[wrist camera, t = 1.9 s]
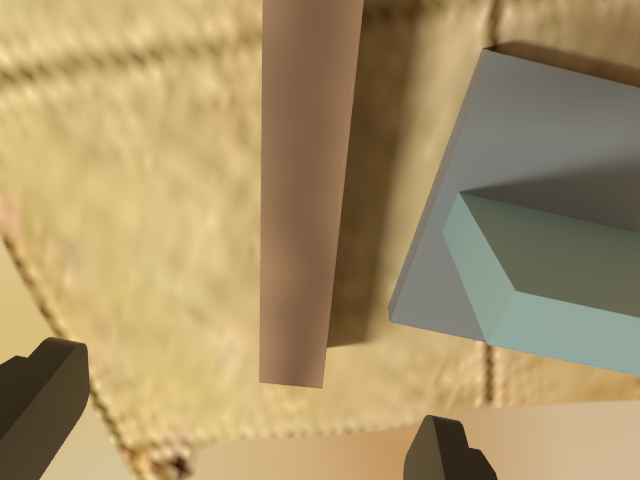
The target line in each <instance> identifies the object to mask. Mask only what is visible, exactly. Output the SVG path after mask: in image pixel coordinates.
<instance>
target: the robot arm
mask: <svg viewBox="0 0 640 480" xmlns="http://www.w3.org/2000/svg"><path fill="white" fill-rule="evenodd" d="M89 392H90V385H89V368H88V351H87V346H86V345H85V344H84V343H79V342H74V341H69V340H64V339H59V338H54V337H49V338H47V339H45V340H44V341H43V342H42V343H41V344H40V345H39V346H38V347H37V348H36V349H35V350H34V351H33V353H32V354H31V355H30V356H29V357H28V358H26V357H21V356H15V357H13V358H11V359H10V360H8V361H6V362H5V363H3V364H1V365H0V480H39V479H40V478H41V476H42V475H43V473H44V472H45V470H46V469H47V467H48V466H49V464H50V462H51V461H52V459H53V458H54V456H55V455H56V453H57V452H58V450H59V449H60V447H61V446H62V444H63V443H64V441H65V440H66V438H67V437H68V435H69V433H70V432H71V430H72V429H73V428H74V426H75V425H76V423H77V421H78V420H79V418H80V417H81V415H82V413H83V411H84V409H85V407H86V404H87V401H88V397H89ZM403 474H404V475H403V476H404V477H403V479H404V480H498V479H497V476H496V473H495V471H494V470H493V468H492V467H491V465H490V464H489V462H488V461H487V459H486V458H485V456H484V455H483V453H482V452H481V450H478V449H473V448H469V446H468V442H467V439H466V435H465V431H464V428H463V425H462V424H461V422H459V421H457V420H451V419H447V418H442V417H437V416H432V415H427V416H426V417H425V418H424V420H423V422H422V424H421V426H420V428H419V430H418V432H417V434H416V436H415V438H414V440H413V442H412V444H411V447H410V449H409V451H408V453H407V455H406V459H405V463H404V473H403Z"/></svg>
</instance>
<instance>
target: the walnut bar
mask: <svg viewBox="0 0 640 480" xmlns="http://www.w3.org/2000/svg"><path fill="white" fill-rule="evenodd" d="M363 3H364V0H263V33H262V146H261V260H260V373H259V382H260V383H270V384H281V385H291V386H301V387H311V388H321V389H322V387H323V378H324V369H325V359H326V350H327V340H328V331H329V322H330V312H331V303H332V294H333V284H334V275H335V266H336V256H337V247H338V237H339V228H340V219H341V209H342V200H343V191H344V181H345V172H346V163H347V153H348V144H349V135H350V125H351V116H352V106H353V97H354V88H355V78H356V69H357V60H358V50H359V41H360V32H361V22H362V13H363Z"/></svg>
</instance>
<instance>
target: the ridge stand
mask: <svg viewBox="0 0 640 480" xmlns="http://www.w3.org/2000/svg"><path fill="white" fill-rule="evenodd" d="M388 312H389V319H390V322H392V323H397V324H402V325H407V326H411V327H416V328H421V329H426V330H430V331H435V332H440V333H445V334H449V335H454V336H459V337H464V338H468V339H473V340H478V341H483V342H487V344H488V345H493V346H497V347H502V348H507V349H512V350H516V351H521V352H526V353H531V354H535V355H540V356H545V357H550V358H554V359H559V360H564V361H569V362H573V363H578V364H583V365H588V366H592V367H597V368H602V369H607V370H611V371H616V372H621V373H626V374H630V375H635V376H640V87H637V86H633V85H629V84H625V83H621V82H617V81H612V80H608V79H604V78H600V77H596V76H592V75H588V74H584V73H580V72H576V71H572V70H568V69H564V68H560V67H556V66H551V65H547V64H543V63H539V62H535V61H531V60H527V59H523V58H519V57H515V56H511V55H507V54H503V53H499V52H495V51H490V50H486V49H483V50H482V52H481V55H480V58H479V60H478V63H477V66H476V69H475V71H474V74H473V77H472V80H471V82H470V85H469V88H468V90H467V93H466V96H465V99H464V101H463V104H462V107H461V110H460V112H459V115H458V118H457V120H456V123H455V126H454V129H453V131H452V134H451V137H450V140H449V142H448V145H447V148H446V150H445V153H444V156H443V159H442V161H441V164H440V167H439V170H438V172H437V175H436V178H435V180H434V183H433V186H432V189H431V191H430V194H429V197H428V200H427V202H426V205H425V208H424V210H423V213H422V216H421V219H420V221H419V224H418V227H417V229H416V232H415V235H414V238H413V240H412V243H411V246H410V249H409V251H408V254H407V257H406V259H405V262H404V265H403V268H402V270H401V273H400V276H399V279H398V281H397V284H396V287H395V289H394V292H393V295H392V298H391V300H390V303H389V306H388Z"/></svg>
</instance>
